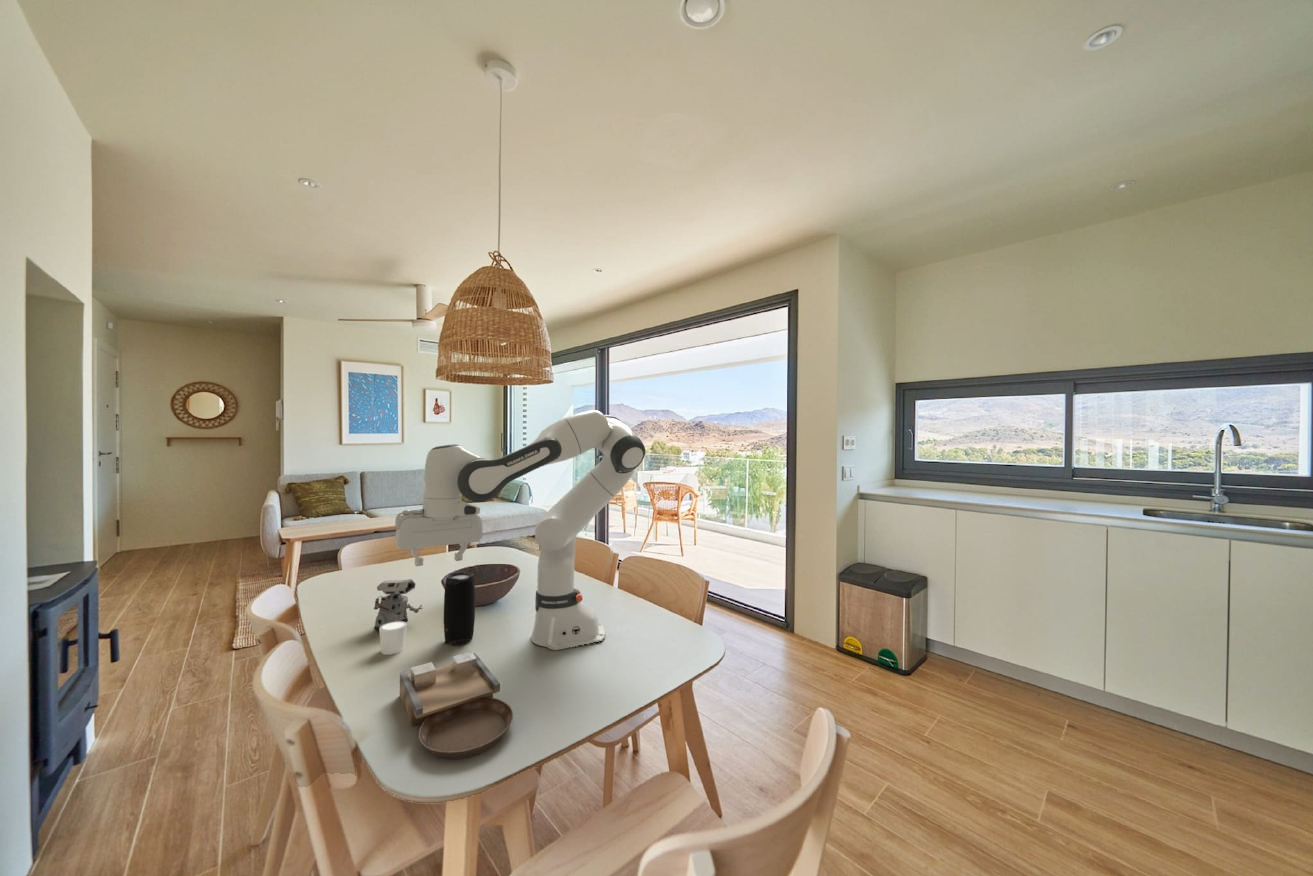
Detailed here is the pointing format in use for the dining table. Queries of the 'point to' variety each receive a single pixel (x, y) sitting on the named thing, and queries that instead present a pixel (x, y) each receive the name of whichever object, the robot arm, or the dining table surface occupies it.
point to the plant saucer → (466, 728)
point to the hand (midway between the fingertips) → (439, 562)
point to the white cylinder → (392, 637)
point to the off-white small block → (423, 675)
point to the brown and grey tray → (446, 691)
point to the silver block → (464, 663)
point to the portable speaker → (459, 608)
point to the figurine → (393, 602)
